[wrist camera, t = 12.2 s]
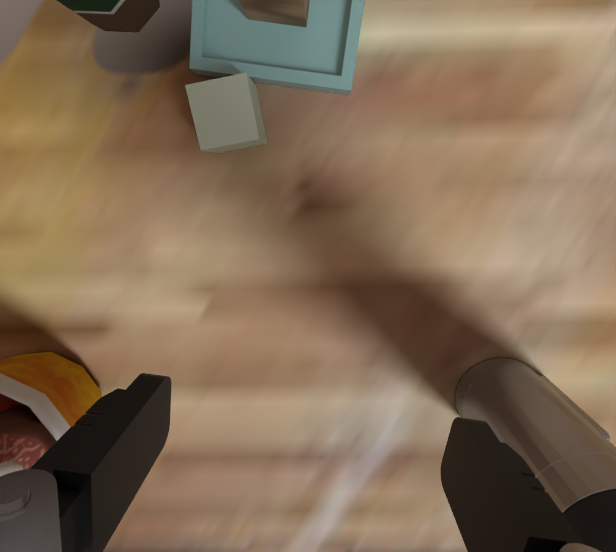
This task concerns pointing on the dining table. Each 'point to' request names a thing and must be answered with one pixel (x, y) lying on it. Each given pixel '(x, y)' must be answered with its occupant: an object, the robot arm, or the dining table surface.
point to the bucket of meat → (39, 405)
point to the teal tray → (278, 45)
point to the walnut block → (277, 11)
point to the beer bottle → (114, 13)
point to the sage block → (226, 113)
